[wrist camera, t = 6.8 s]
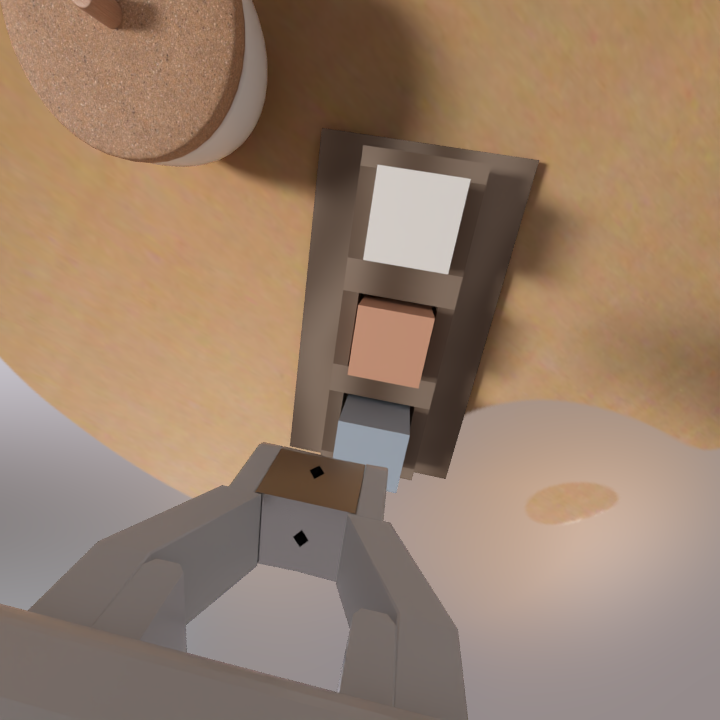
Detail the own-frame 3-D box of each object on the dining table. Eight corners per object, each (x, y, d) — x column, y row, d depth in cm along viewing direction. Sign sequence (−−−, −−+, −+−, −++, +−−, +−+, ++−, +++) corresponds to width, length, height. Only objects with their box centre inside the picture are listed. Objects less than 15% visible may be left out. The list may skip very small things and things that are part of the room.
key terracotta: (430, 305, 24) (434, 318, 20) (417, 365, 25) (418, 388, 22) (366, 293, 24) (358, 304, 20) (356, 354, 26) (347, 374, 22)
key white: (459, 188, 20) (470, 178, 17) (441, 267, 22) (448, 274, 18) (383, 176, 21) (377, 164, 17) (370, 255, 22) (363, 259, 18)
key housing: (535, 162, 21) (554, 151, 19) (444, 474, 29) (448, 499, 27) (324, 130, 22) (311, 116, 19) (292, 442, 30) (280, 463, 28)
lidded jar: (223, 216, 25) (122, 208, 16) (99, 89, 23) (-90, 2, 14) (329, 81, 21) (273, -23, 13) (192, -81, 20) (17, -330, 11)
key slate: (409, 405, 25) (409, 435, 22) (397, 456, 27) (396, 493, 23) (348, 393, 26) (338, 420, 22) (340, 444, 27) (329, 478, 23)
